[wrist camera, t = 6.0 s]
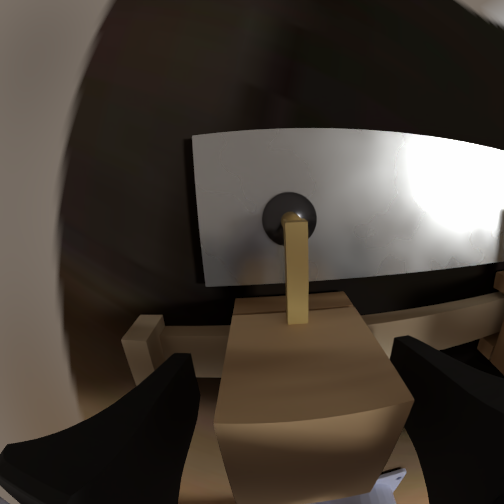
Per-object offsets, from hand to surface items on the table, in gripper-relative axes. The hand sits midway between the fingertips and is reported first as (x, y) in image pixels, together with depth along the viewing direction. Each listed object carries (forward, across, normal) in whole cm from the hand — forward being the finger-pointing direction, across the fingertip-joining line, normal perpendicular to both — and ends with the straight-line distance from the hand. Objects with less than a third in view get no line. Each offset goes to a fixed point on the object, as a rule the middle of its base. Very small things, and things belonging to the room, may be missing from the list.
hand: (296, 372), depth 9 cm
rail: (+2, -5, 0) cm, 5 cm away
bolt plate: (+2, -6, -5) cm, 8 cm away
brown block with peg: (+2, 0, -2) cm, 2 cm away
